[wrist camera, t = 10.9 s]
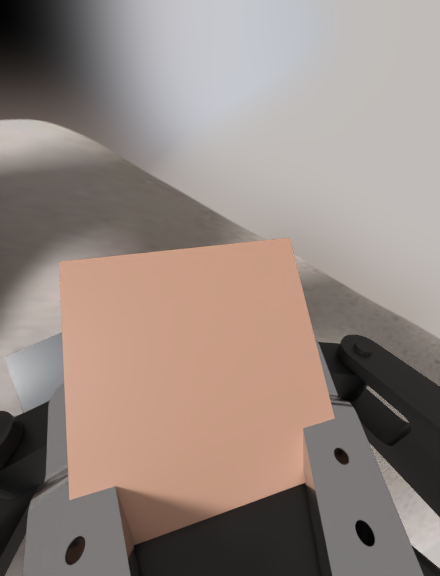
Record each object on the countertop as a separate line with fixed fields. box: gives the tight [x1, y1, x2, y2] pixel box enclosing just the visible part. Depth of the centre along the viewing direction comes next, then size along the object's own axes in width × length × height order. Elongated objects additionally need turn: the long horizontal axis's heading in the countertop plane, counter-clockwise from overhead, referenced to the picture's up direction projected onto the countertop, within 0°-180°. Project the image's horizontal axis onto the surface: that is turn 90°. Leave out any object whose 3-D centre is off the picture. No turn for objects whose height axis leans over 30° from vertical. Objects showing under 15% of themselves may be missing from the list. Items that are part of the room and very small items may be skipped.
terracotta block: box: [59, 238, 335, 557], centre depth 9 cm, size 5×5×10 cm
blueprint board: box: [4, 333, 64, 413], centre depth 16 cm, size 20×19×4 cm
